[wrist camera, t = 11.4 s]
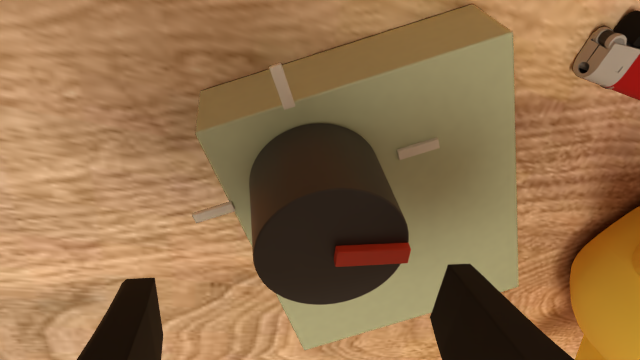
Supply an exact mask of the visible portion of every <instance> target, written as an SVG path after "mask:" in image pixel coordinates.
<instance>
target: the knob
mask: <svg viewBox="0 0 640 360" xmlns="http://www.w3.org/2000/svg"><path fill="white" fill-rule="evenodd" d="M249 190H250V209H251V228H252V247H253V262H254V266H255V269H256V271H257V273H258V275H259V277H260V278H261V280H262V281H263V283H264V284H265V285H266V286H267V287H268V288H269V289H270V290H272V291H273V292H275V293H276V294H278V295H280V296H281V297H283V298H286V299H288V300H291V301H295V302H298V303H304V304H312V305H327V304H336V303H341V302H345V301H349V300H352V299H355V298H358V297H360V296H363V295H365V294H367V293H369V292H371V291H372V290H374V289H376V288H377V287H379V286H380V285H382V284H383V283H384V282H385V281H387V280H388V279H389V278H390V277H391V276H392V275H393V274H394V273H395V271H396V270H397V269H398V267H399V266H400V265H401V264H402V263H408V260H409V256H410V252H411V247H410V245H409V231H408V226H407V223H406V220H405V218H404V216H403V213H402V211H401V209H400V207H399V205H398V202H397V200H396V198H395V196H394V194H393V191H392V189H391V187H390V185H389V183H388V180H387V178H386V176H385V174H384V172H383V169H382V167H381V165H380V163H379V160H378V158H377V156H376V154H375V152H374V150H373V149H372V147H371V146H370V144H369V143H368V142H367V141H366V140H365V139H364V138H363V137H362V136H360V135H359V134H357V133H356V132H354V131H352V130H350V129H348V128H345V127H342V126H339V125H334V124H327V123H314V124H307V125H301V126H298V127H295V128H292V129H290V130H287V131H285V132H283V133H281V134H280V135H278V136H276V137H275V138H274V139H272V140H271V141H270V142H269V143H268V144H267V145H266V146H265V147H264V148H263V149H262V150H261V152H260V153H259V154H258V156H257V157H256V159H255V161H254V163H253V166H252V168H251V172H250V178H249Z"/></svg>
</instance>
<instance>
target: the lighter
mask: <svg viewBox="0 0 640 360" xmlns="http://www.w3.org/2000/svg"><path fill="white" fill-rule="evenodd" d="M573 71H574V73H575V74H576V75H577V76H578V77H580V78H583V79H586V80H588V81H591V82H593V83H596V84H599V85H600V86H601V87H603V88H606V89H612V90H614V91H617V92H619V93H622V94H625V95H627V96H630V97H632V98H635V99H638V100H640V11H633V12H631V13H629V14H628V15H626V16H625V17H624V18H623V19H622V20H621V21H620V22H619V24H618V25H617V26H616V28H615V29H614V31H613V30H612V29H610V28H608V27H601V28H599V29H598V30H597V31H595V32H593V33H592V35H591V36H590V38H589V39H588V41H587V42H586V44H585V45H584V47H583V48H582V50H581V51H580V53H579V54H578V56H577V58H576V60H575V62H574V65H573Z"/></svg>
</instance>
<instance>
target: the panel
mask: <svg viewBox="0 0 640 360" xmlns="http://www.w3.org/2000/svg"><path fill="white" fill-rule="evenodd" d="M314 123H327V124H334V125H339V126H342V127H345V128H348V129H350V130H352V131H354V132H356V133H357V134H359V135H360V136H362V137H363V138H364V139H365V140H366V141H367V142H368V143H369V144H370V146H371V147H372V149H373V150H374V152H375V154H376V156H377V158H378V160H379V163H380V165H381V167H382V169H383V172H384V174H385V176H386V178H387V180H388V183H389V185H390V187H391V189H392V191H393V194H394V196H395V198H396V200H397V202H398V205H399V207H400V209H401V211H402V213H403V216H404V218H405V220H406V223H407V226H408V231H409V245H410V247H411V252H410V256H409V260H408V263H402V264H401V265H400V266H399V267H398V269H397V270H396V271H395V273H394V274H393V275H392V276H391V277H390V278H389V279H388V280H387V281H385V282H384V283H383V284H382V285H380V286H379V287H377V288H376V289H374V290H372V291H371V292H369V293H367V294H365V295H363V296H360V297H358V298H355V299H352V300H349V301H345V302H341V303H336V304H327V305H312V304H304V303H298V302H295V301H291V300H288V299H286V298H283V297H281V296H280V295H278V294H276V295H277V297H278V299H279V301H280V303H281V305H282V307H283V309H284V311H285V313H286V315H287V317H288V319H289V321H290V323H291V325H292V327H293V329H294V331H295V333H296V335H297V337H298V339H299V341H300V343H301V345H302V347H303V349H304V350H308V349H311V348H314V347H318V346H321V345H324V344H328V343H331V342H335V341H338V340H341V339H345V338H348V337H351V336H355V335H358V334H361V333H365V332H368V331H372V330H375V329H378V328H382V327H385V326H388V325H392V324H395V323H398V322H402V321H405V320H409V319H412V318H415V317H419V316H422V315H425V314H429V313H432V310H433V307H434V304H435V301H436V298H437V295H438V292H439V289H440V286H441V284H442V281H443V278H444V275H445V272H446V269H447V266H448V265H449V264H471V265H472V266H473V267H474V268H475V269H477V270H478V271H479V272H480V273H481V274H482V275H483V276H484V277H485V278H486V279H487V280H488V281H489V282H490V283H491V284H492V285H493V286H494V287H495V288H496V289H497V290H498V291H499V292H503V291H506V290H509V289H513V288H516V287H518V286H519V282H518V235H517V188H516V141H515V94H514V47H513V32H512V31H511V30H509V29H508V28H506V27H505V26H504V25H502V24H501V23H499V22H498V21H496V20H495V19H494V18H492V17H491V16H489V15H488V14H486V13H485V12H484V11H482V10H481V9H479V8H478V7H476V6H475V5H473V4H471V5H468V6H465V7H462V8H459V9H456V10H453V11H449V12H446V13H443V14H440V15H437V16H434V17H431V18H428V19H424V20H421V21H418V22H415V23H412V24H409V25H406V26H403V27H399V28H396V29H393V30H390V31H387V32H384V33H381V34H378V35H374V36H371V37H368V38H365V39H362V40H359V41H356V42H353V43H350V44H346V45H343V46H340V47H337V48H334V49H331V50H328V51H325V52H321V53H318V54H315V55H312V56H309V57H306V58H303V59H300V60H296V61H293V62H290V63H287V64H284V65H282V64H281V63H277V64H274V65H271V66H269V69H268V70H265V71H262V72H259V73H256V74H253V75H250V76H246V77H243V78H240V79H237V80H234V81H231V82H228V83H225V84H221V85H218V86H215V87H212V88H209V89H206V90H203V91H201V92H200V96H199V105H198V113H197V121H196V130H195V134H196V136H197V138H198V140H199V142H200V144H201V146H202V148H203V150H204V152H205V154H206V156H207V158H208V160H209V162H210V164H211V166H212V168H213V170H214V172H215V174H216V176H217V178H218V180H219V182H220V184H221V186H222V188H223V190H224V192H225V194H226V196H227V198H228V200H229V202H226V203H223V204H220V205H217V206H214V207H210V208H207V209H204V210H201V211H198V212H194V213H192V216H193V218H194V220H195V222H196V223H199V222H202V221H205V220H208V219H212V218H215V217H218V216H221V215H225V214H228V213H231V212H235V214H236V216H237V218H238V220H239V222H240V224H241V226H242V228H243V230H244V232H245V234H246V236H247V238H248V240H249V242H250V243H251V245H252V228H251V209H250V190H249V178H250V172H251V168H252V166H253V163H254V161H255V159H256V157H257V156H258V154H259V153H260V152H261V150H262V149H263V148H264V147H265V146H266V145H267V144H268V143H269V142H270V141H271V140H272V139H274V138H275V137H276V136H278V135H280V134H281V133H283V132H285V131H287V130H290V129H292V128H295V127H298V126H301V125H307V124H314Z"/></svg>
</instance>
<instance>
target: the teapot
mask: <svg viewBox="0 0 640 360" xmlns="http://www.w3.org/2000/svg"><path fill="white" fill-rule="evenodd" d="M570 295H571V304H572V308H573V312H574V315H575V317H576V320H577V322H578V325H579V327H580V329H581V330H582V332H583V333H584V336H583V339H582V342H581V344H580V347H579V350H578V353H577V355H576V358H575V360H640V206H639V207H637V208H635V209H634V210H632V211H631V212H629V213H628V214H626V215H625V216H623V217H622V218H620V219H619V220H617V221H616V222H615V223H613V224H612V225H610V226H609V227H608V228H606V229H605V230H604V231H602V232H601V233H600V234H598V235H597V236H596V237H595V238H593V239H592V240H591V241H590V242H589V243H587V244H586V245H585V246H584V247H583V248H582V249H581V251H580V252H579V253H578V254H577V256H576V257H575V259H574V261H573V264H572V266H571V273H570Z"/></svg>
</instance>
